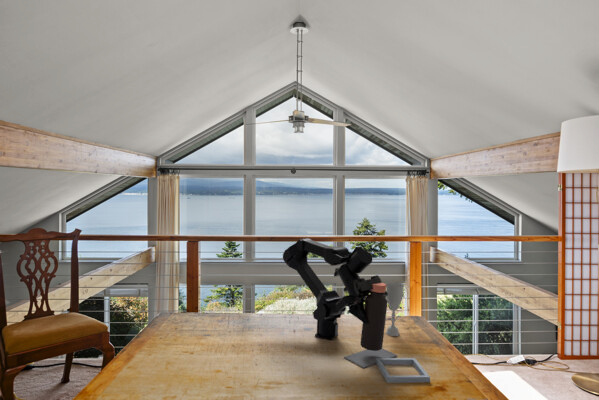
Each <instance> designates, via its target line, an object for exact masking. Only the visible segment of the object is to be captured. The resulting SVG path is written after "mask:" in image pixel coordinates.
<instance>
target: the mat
mask: <svg viewBox="0 0 599 400" xmlns="http://www.w3.org/2000/svg"><path fill="white" fill-rule="evenodd" d="M397 357H398V354H397V353H393V352H391V351H389V350H387V349H385V348H383V347H382V349H381V350H378V351H372V350H367V349H364V350H361V351H358V352H357V351H356V352H355V353H351V354H349V355H345V356H343V358H344V359H345V358H346V359H345V360H347V361H349V362H351V363H353V364H354V363H355V365H356V364H357V366H358V367H360V368H362V369H366V368H369V367H372V366H375V365H377V364H376V358H397Z"/></svg>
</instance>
